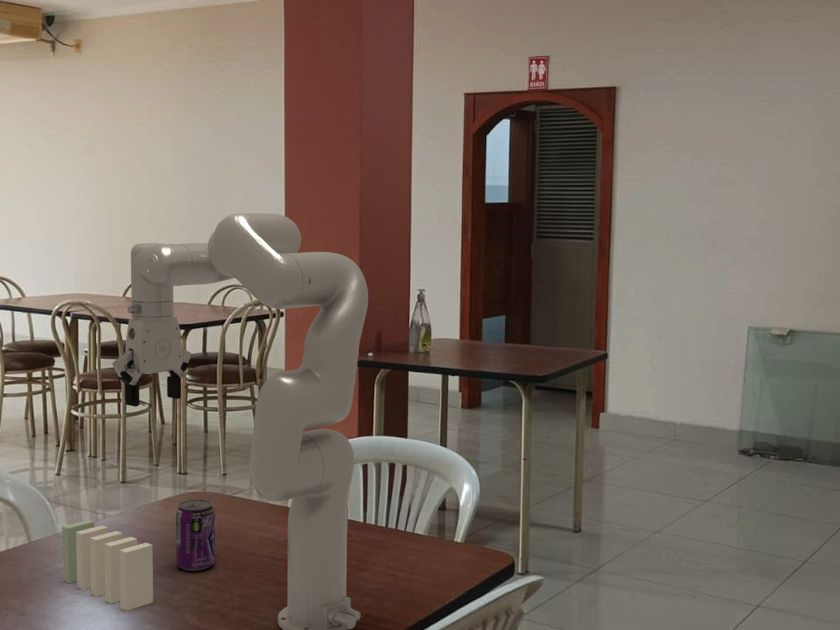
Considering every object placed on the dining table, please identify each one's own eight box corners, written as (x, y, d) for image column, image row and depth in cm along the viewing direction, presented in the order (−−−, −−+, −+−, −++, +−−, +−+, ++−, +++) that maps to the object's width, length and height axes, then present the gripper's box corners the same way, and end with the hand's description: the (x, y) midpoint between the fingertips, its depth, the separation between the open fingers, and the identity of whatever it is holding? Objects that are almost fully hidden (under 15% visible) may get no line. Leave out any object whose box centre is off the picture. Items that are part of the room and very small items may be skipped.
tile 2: (137, 595, 177) (137, 539, 176) (111, 603, 173) (110, 546, 172) (131, 592, 178) (131, 536, 177) (105, 600, 174) (104, 543, 173)
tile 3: (123, 588, 180) (122, 533, 179) (96, 596, 176) (95, 540, 175) (117, 585, 181) (116, 530, 180) (90, 594, 177) (89, 537, 176)
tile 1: (153, 602, 174) (152, 545, 173) (126, 611, 170) (125, 552, 169) (146, 599, 175) (146, 542, 174) (120, 608, 171) (119, 550, 170)
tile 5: (95, 575, 186) (94, 522, 184) (68, 583, 182) (67, 528, 181) (89, 573, 187) (88, 519, 186) (63, 580, 183) (62, 526, 182)
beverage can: (205, 574, 187) (205, 510, 186) (169, 571, 188) (169, 507, 187) (221, 561, 194) (220, 499, 193) (186, 558, 195) (185, 497, 194)
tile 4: (108, 582, 183) (108, 527, 182) (82, 589, 179) (81, 534, 178) (103, 579, 184) (102, 525, 183) (76, 587, 180) (76, 531, 179)
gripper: (127, 315, 180) (128, 411, 182) (202, 308, 194) (202, 397, 196) (100, 312, 185) (102, 406, 186) (175, 305, 199) (176, 392, 200)
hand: (153, 401), depth 191 cm, fingers open, 9 cm apart
